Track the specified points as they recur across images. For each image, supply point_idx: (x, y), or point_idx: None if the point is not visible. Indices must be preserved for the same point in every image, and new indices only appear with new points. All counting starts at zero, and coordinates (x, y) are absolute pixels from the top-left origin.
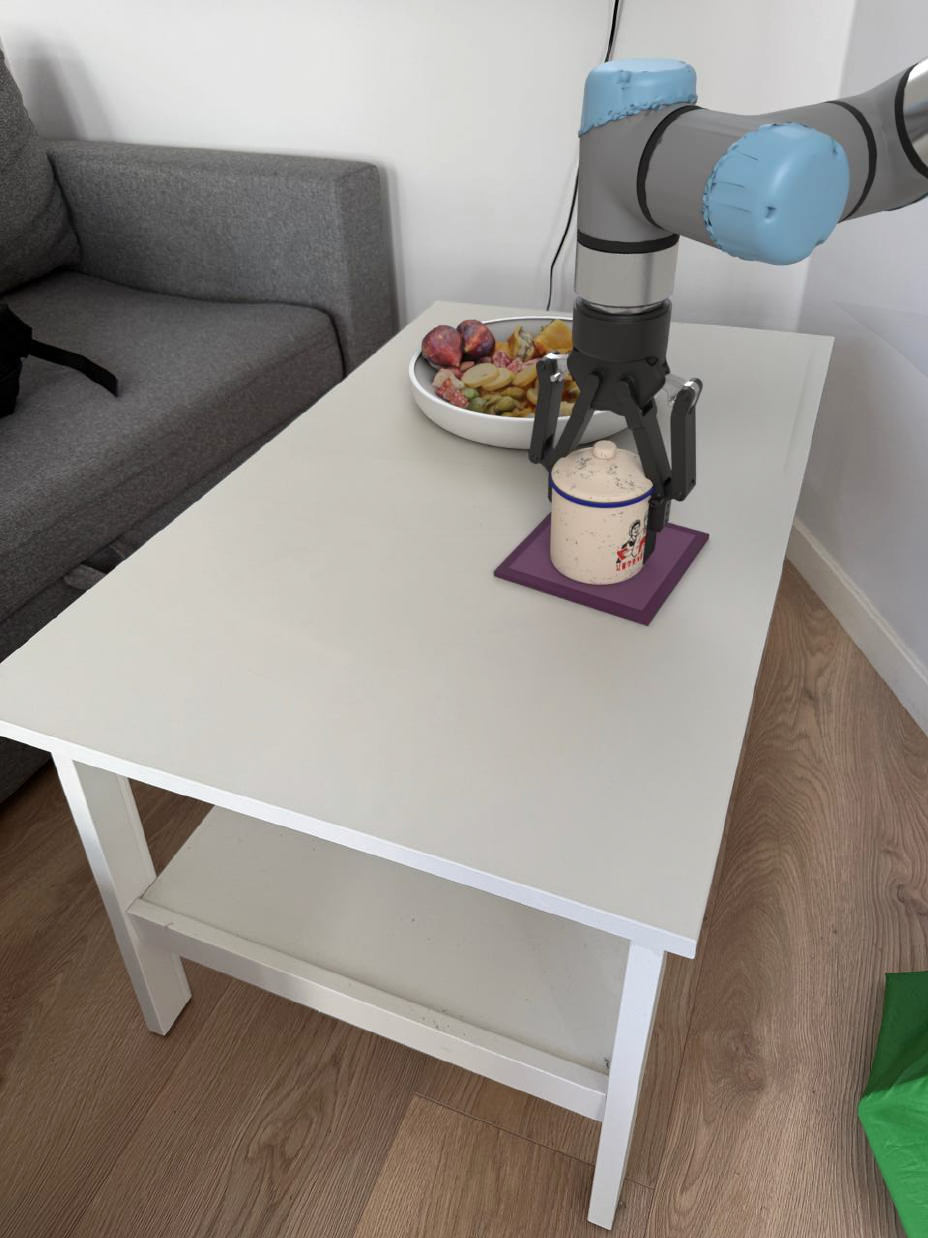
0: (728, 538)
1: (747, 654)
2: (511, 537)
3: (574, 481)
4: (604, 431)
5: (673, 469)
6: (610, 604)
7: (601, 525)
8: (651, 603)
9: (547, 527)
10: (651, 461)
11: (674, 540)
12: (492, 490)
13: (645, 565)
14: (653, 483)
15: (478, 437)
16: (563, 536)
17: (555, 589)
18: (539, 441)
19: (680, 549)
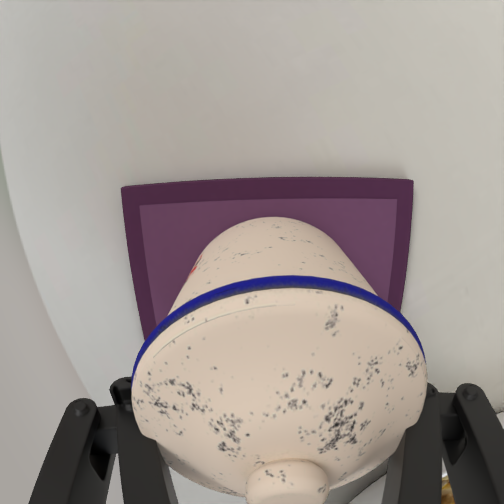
0: None
1: (16, 209)
2: (422, 288)
3: (341, 347)
4: (366, 495)
5: (73, 459)
6: (190, 191)
7: (218, 272)
8: (137, 231)
9: None
10: (130, 479)
11: None
12: (468, 363)
13: None
14: (136, 429)
15: (498, 417)
16: (320, 245)
17: (297, 181)
18: (482, 428)
19: None
